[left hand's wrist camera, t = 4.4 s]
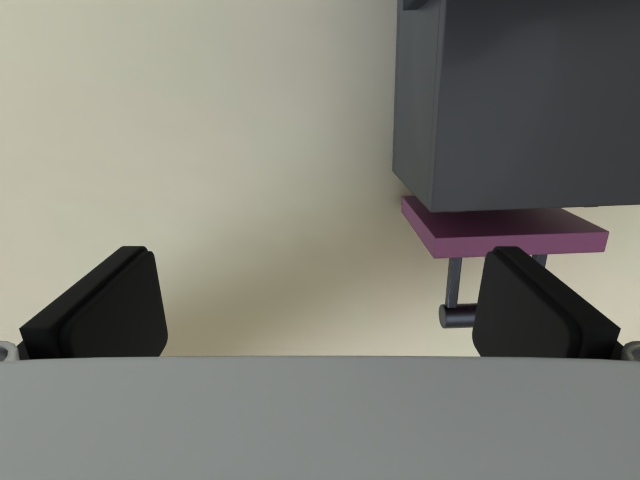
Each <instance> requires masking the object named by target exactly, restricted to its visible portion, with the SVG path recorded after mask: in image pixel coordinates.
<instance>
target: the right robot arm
mask: <svg viewBox="0 0 640 480" xmlns="http://www.w3.org/2000/svg"><path fill="white" fill-rule="evenodd" d="M428 1H429V0H403V11H406V10H418V9H419V8H420V7H421V6H423V5H424V4H425V3H426V2H428Z"/></svg>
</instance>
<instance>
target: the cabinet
mask: <svg viewBox="0 0 640 480" xmlns="http://www.w3.org/2000/svg"><path fill="white" fill-rule="evenodd" d="M392 171H393V172H394V173H395V174H396V175H397V176H398V178H399V179H400V180H401V181H402V182H403V183H404V184H405V185H406V186H407V187H408V188H409V189H410V190H411V192H412V193H413V194H414V195H415V196H416V197H417V198H418V199H419V200H420V201H421V202H422V203H423V204H424V206H425V207H426V208H427V209H428V210H429V211H430V212H432V213H435V212H461V211H487V210H513V209H538V208H564V207H590V206H616V205H640V0H429V1H428V2H426V3H425V4H424V5H423V6H421V7H420V8H419V9H418V10H406V11H403V0H398V7H397V39H396V72H395V104H394V137H393V169H392Z"/></svg>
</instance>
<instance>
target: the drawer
mask: <svg viewBox="0 0 640 480" xmlns="http://www.w3.org/2000/svg"><path fill="white" fill-rule="evenodd" d="M590 207H598V206H590ZM402 213H403V214H404V216H405V217H406V219H407V220H408V222H409V223H410V225H411V226H412V227H413V229H414V230H415V232H416V233H417V235H418V236H419V238H420V239H421V240H422V242H423V243H424V245H425V246H426V248H427V249H428V251H429V252H430V253H431V255H432V256H433V258H449V267H448V278H447V289H446V299H445V304H442V305H440V307H439V320H440V324H441V326H442V328H470V327H473V326H474V320H475V314H476V308H477V303H470V304H457V300H458V291H459V282H460V272H461V263H462V257H485V256H486V254H487V253H488V252H489V251H492V250H493V248H494V247H496V246H518V247H520V248H521V249H522V250H523V251H524V252H526V253H527V254H528V255H532V258H533V259H534V260H536V261H537V262H538V263H539V264H541V265H542V266H543V267H544V268H545V264H546V259H547V254H565V253H591V252H604V251H605V247H606V243H607V239H608V235H609V231H607V230H605V229H603V228H601V227H599V226H596V225H594V224H592V223H590V222H588V221H586V220H584V219H582V218H580V217H578V216H576V215H574V214H572V213H570V212H568V211H566V210H564V209H561V208H538V209H513V210H487V211H461V212H435V213H432V212H430V211H429V210H428V209H427V208H426V207H425V206H424V204H423V203H422V202H421V201H420V200H419V199H418V198H417V197H416V196H403V197H402Z"/></svg>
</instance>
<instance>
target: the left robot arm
mask: <svg viewBox="0 0 640 480" xmlns="http://www.w3.org/2000/svg"><path fill="white" fill-rule="evenodd" d="M19 330H20V333H21V335H22V338H23V341H22V342H21V343H20V344H19V345H17V346H16V345H15V344H13V343H11V342H8V341H0V480H640V341H632V342H629V343H627V344H625V345H624V346H623V345H621V344H620V343H619V342H618V341H617V338H618V335H619V333H620V330H621V328H619V327H618V326H617V325H616V324H614V323H613V322H612V321H611V320H609V319H608V318H607V317H606V316H604V315H603V314H602V313H601V312H599V311H598V310H597V309H596V308H594V307H593V306H592V305H591V304H589V303H588V302H587V301H586V300H584V299H583V298H582V297H581V296H579V295H578V294H577V293H576V292H574V291H573V290H572V289H571V288H569V287H568V286H567V285H566V284H564V283H563V282H562V281H561V280H559V279H558V278H557V277H556V276H554V275H553V274H552V273H551V272H549V271H548V270H547V269H546V268H544V267H543V266H542V265H541V264H539V263H538V262H537V261H536V260H534V259H533V258H532V257H531V256H529V255H528V254H527V253H526V252H524V251H523V250H522V249H521V248H520V247H518V246H496V247H494V248H493V250H492V251H489V252H488V253H487V254H486V257H485V262H484V268H483V274H482V280H481V285H480V291H479V297H478V303H477V308H476V314H475V320H474V326H473V331H472V339H473V343H474V346H475V348H476V349H477V351H478V353H479V354H480V356H481V357H445V356H190V357H159V356H160V354H161V353H162V351H163V349H164V348H165V346H166V343H167V339H168V331H167V326H166V320H165V314H164V308H163V303H162V297H161V291H160V285H159V280H158V274H157V268H156V262H155V257H154V254H153V253H152V252H151V251H148V250H147V248H146V247H144V246H122V247H120V248H119V249H118V250H117V251H116V252H114V253H113V254H112V255H111V256H109V257H108V258H107V259H106V260H104V261H103V262H102V263H101V264H99V265H98V266H97V267H96V268H94V269H93V270H92V271H91V272H89V273H88V274H87V275H86V276H84V277H83V278H82V279H81V280H79V281H78V282H77V283H76V284H74V285H73V286H72V287H71V288H69V289H68V290H67V291H66V292H64V293H63V294H62V295H61V296H59V297H58V298H57V299H56V300H54V301H53V302H52V303H51V304H49V305H48V306H47V307H46V308H44V309H43V310H42V311H41V312H39V313H38V314H37V315H36V316H34V317H33V318H32V319H31V320H29V321H28V322H27V323H26V324H24V325H23V326H22V327H21V328H19Z"/></svg>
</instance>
